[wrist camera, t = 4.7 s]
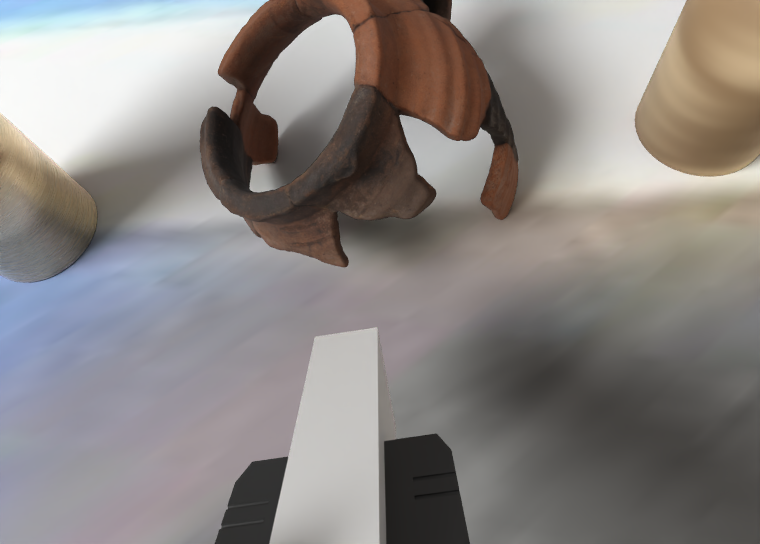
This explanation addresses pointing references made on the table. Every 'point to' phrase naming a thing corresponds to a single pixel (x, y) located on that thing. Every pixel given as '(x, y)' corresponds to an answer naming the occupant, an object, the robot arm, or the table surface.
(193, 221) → the table surface
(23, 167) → the aperture bracket
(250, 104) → the broken brown pot
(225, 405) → the table surface
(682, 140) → the oak collar post
